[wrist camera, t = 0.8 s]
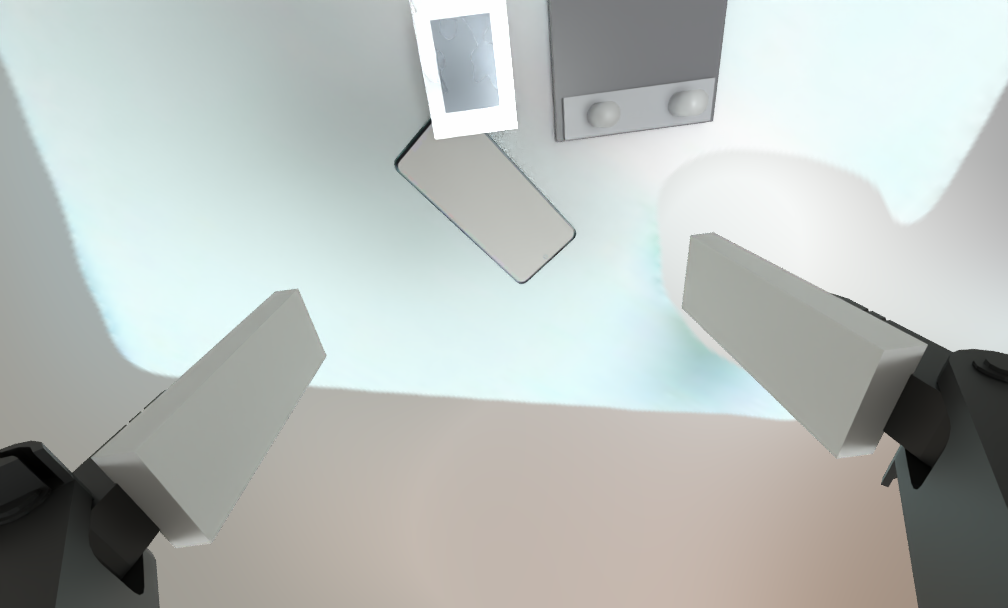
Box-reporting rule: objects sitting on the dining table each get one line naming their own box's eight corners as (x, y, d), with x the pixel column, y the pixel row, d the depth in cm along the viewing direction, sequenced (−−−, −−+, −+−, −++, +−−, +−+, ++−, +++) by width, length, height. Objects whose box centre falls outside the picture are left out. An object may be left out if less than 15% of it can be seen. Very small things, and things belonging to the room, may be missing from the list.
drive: (425, 24, 25) (407, -9, 19) (497, 14, 25) (503, -22, 19) (444, 135, 29) (434, 139, 22) (509, 126, 29) (517, 128, 22)
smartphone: (450, 93, 27) (579, 234, 33) (450, 94, 28) (577, 232, 33) (390, 165, 29) (521, 286, 34) (391, 164, 30) (521, 284, 35)
